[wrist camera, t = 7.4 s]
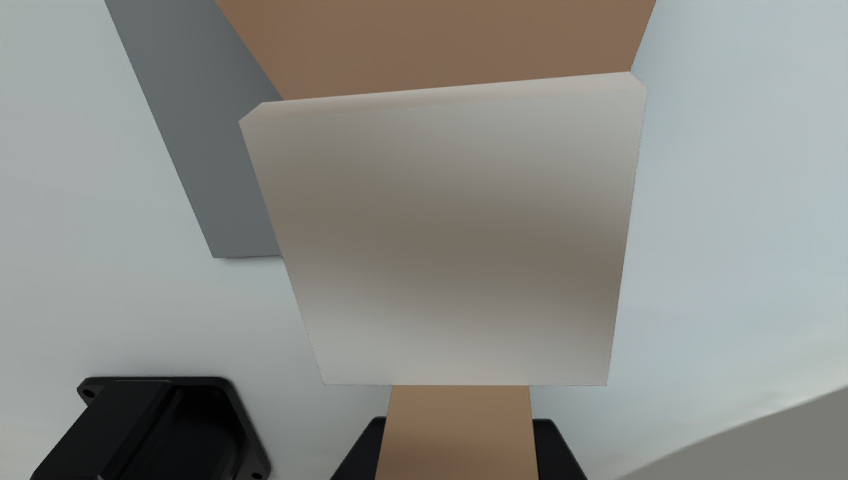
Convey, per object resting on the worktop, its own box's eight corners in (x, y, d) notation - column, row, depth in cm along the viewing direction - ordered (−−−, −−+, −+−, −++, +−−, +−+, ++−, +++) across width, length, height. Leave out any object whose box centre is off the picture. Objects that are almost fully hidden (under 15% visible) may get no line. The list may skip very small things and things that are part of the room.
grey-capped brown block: (579, 500, 11) (620, 736, 8) (375, 493, 12) (336, 707, 9) (629, 71, 6) (806, 241, 3) (261, 102, 7) (53, 265, 4)
